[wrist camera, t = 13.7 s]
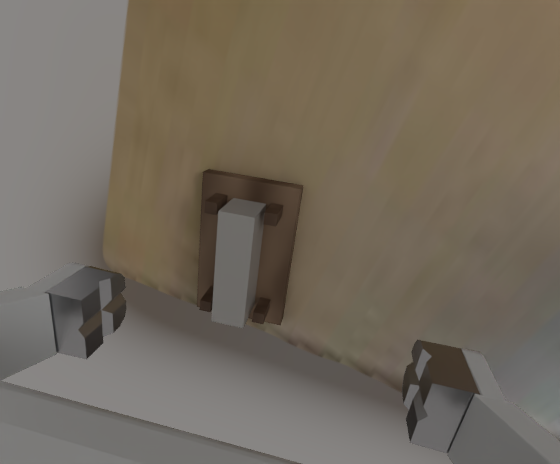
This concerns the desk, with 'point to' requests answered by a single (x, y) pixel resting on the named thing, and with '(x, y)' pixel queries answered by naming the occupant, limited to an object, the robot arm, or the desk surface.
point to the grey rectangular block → (237, 261)
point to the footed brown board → (275, 238)
